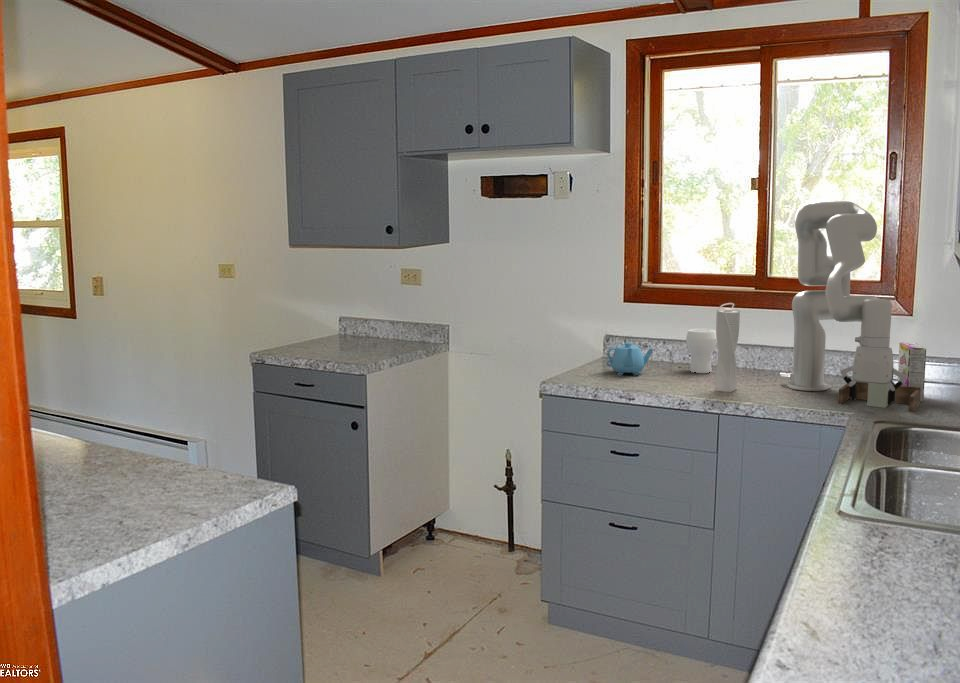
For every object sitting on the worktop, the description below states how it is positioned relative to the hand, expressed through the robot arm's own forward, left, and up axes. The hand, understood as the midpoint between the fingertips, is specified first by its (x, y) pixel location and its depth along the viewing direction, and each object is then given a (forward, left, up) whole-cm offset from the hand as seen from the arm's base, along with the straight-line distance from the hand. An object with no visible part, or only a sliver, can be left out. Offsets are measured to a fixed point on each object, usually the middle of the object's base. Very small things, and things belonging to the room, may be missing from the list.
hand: (871, 401), depth 241 cm
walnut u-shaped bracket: (0, +10, -3) cm, 11 cm away
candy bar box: (+6, +24, -3) cm, 25 cm away
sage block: (0, +9, -3) cm, 10 cm away
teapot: (-84, +17, -3) cm, 86 cm away
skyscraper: (-45, +7, -3) cm, 46 cm away
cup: (-64, +34, -3) cm, 73 cm away
